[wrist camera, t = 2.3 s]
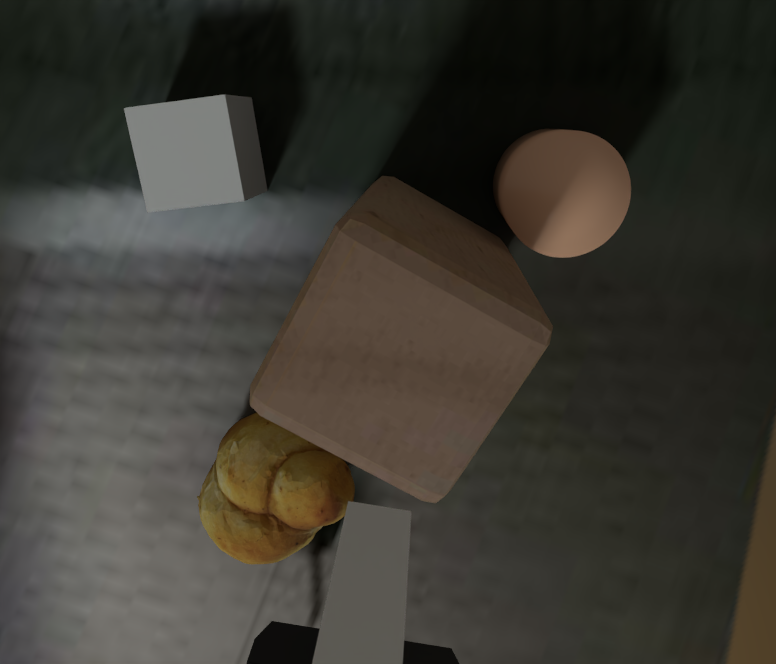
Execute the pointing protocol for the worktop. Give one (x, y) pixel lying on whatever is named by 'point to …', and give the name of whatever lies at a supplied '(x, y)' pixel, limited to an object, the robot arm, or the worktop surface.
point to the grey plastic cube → (197, 152)
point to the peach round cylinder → (562, 191)
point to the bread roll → (271, 492)
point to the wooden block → (403, 341)
